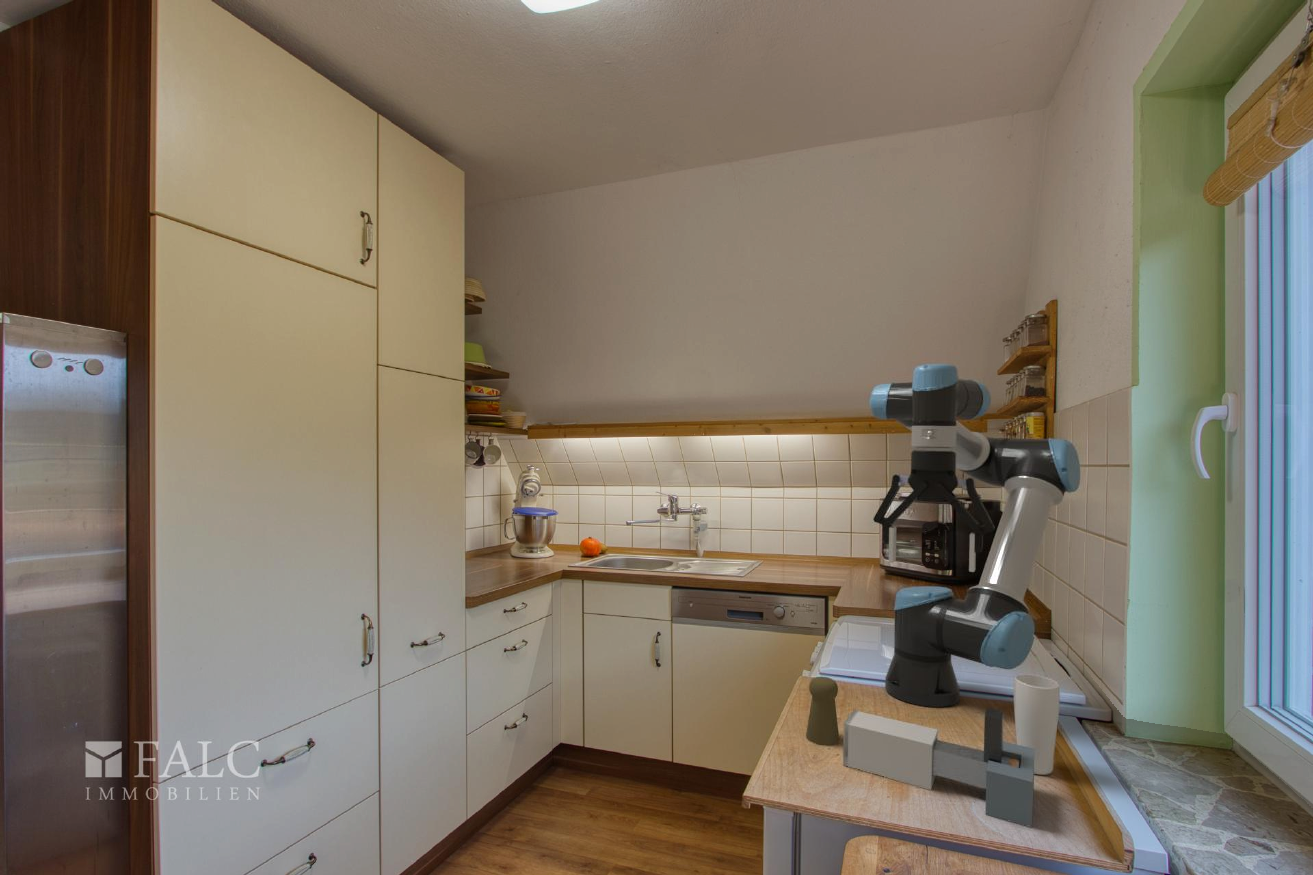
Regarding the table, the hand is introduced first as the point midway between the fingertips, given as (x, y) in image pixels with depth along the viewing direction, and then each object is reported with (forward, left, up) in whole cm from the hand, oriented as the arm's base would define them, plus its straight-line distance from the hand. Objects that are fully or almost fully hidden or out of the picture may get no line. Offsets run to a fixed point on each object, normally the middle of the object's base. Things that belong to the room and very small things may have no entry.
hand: (931, 566), depth 119 cm
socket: (+13, +13, -33) cm, 38 cm away
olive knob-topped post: (+8, -17, -33) cm, 38 cm away
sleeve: (+13, -4, -33) cm, 35 cm away
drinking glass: (-1, +17, -33) cm, 37 cm away
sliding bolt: (+13, +6, -31) cm, 34 cm away
